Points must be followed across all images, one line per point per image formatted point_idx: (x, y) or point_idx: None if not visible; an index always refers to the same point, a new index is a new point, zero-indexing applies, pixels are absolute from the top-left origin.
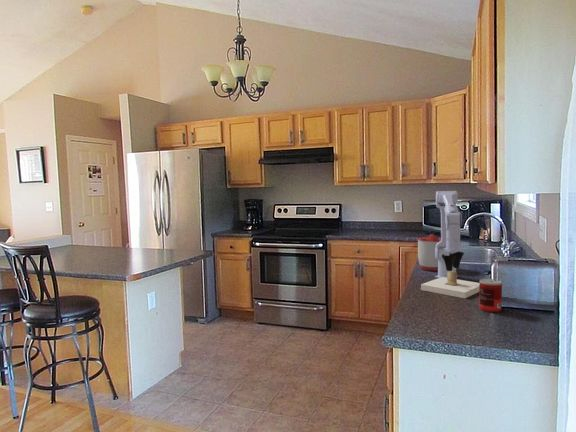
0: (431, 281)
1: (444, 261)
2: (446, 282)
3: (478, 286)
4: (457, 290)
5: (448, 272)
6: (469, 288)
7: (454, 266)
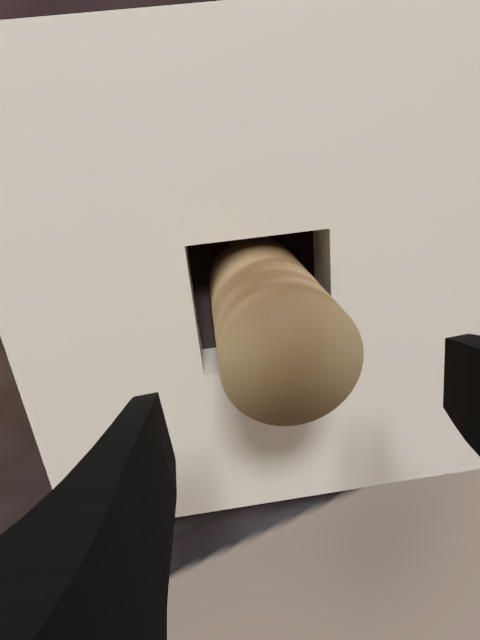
0: (182, 34)
1: (20, 522)
2: (283, 216)
3: (353, 488)
4: (71, 468)
5: (227, 344)
6: (227, 485)
7: (456, 363)
